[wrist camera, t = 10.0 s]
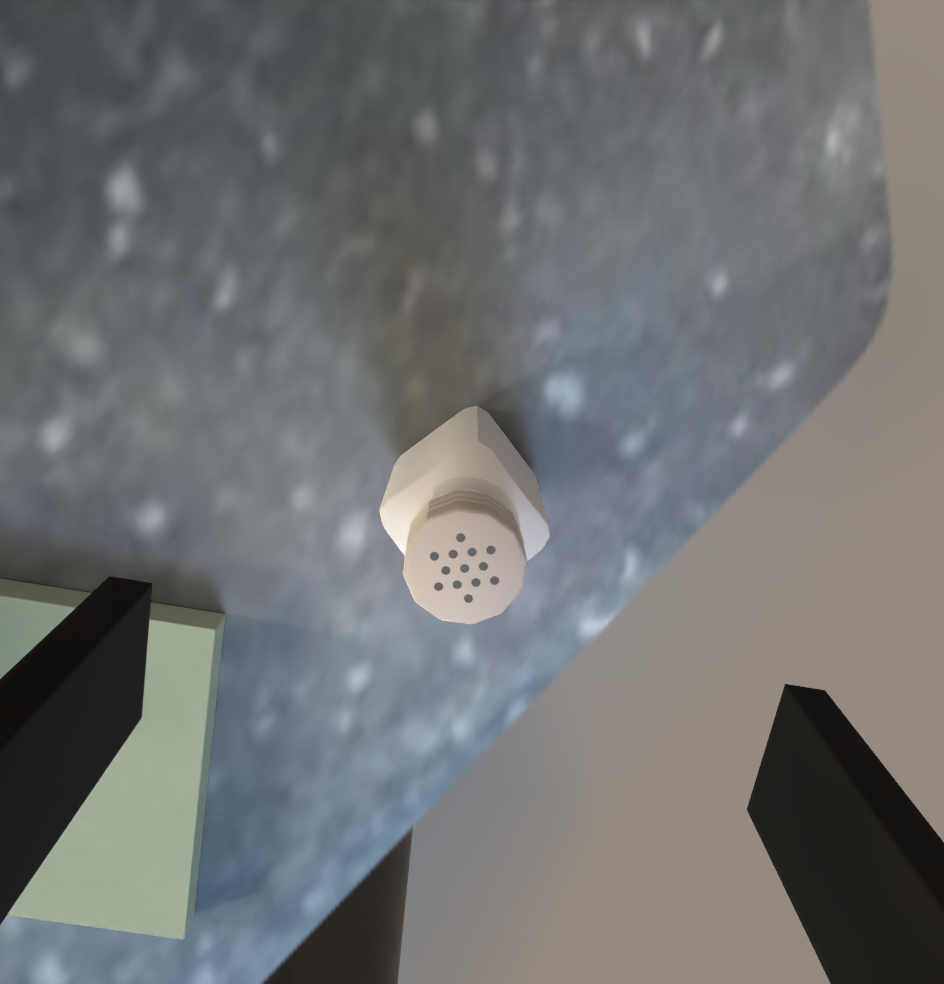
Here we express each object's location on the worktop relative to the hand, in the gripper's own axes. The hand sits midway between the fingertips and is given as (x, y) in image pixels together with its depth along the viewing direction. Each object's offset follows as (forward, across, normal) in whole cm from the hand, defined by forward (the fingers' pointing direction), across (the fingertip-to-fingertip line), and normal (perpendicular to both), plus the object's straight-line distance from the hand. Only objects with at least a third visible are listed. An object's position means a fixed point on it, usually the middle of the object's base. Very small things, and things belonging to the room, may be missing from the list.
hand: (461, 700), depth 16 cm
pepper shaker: (+16, 0, 0) cm, 16 cm away
